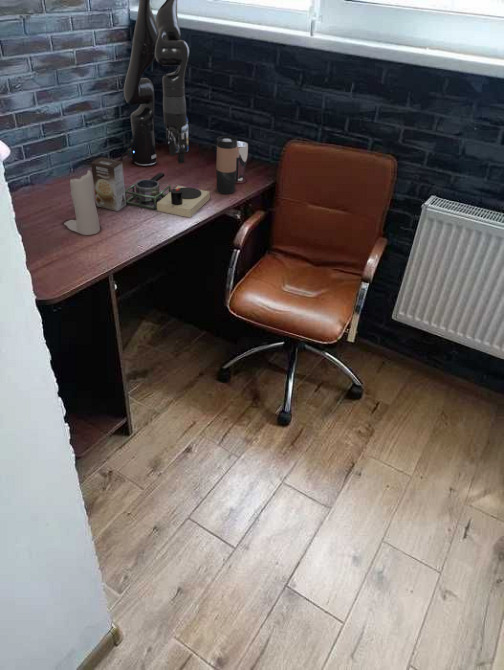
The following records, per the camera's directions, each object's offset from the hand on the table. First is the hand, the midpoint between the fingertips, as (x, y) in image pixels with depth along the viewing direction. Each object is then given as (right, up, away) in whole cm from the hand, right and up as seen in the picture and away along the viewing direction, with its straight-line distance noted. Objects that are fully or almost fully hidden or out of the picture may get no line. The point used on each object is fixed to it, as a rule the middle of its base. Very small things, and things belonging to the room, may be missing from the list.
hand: (176, 159), depth 173 cm
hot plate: (+1, -13, +11) cm, 17 cm away
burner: (+2, -9, +12) cm, 15 cm away
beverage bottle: (-7, +24, +57) cm, 63 cm away
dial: (-1, -14, +5) cm, 15 cm away
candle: (-31, -26, -7) cm, 41 cm away
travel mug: (+16, -4, +24) cm, 29 cm away
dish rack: (-13, -11, +12) cm, 21 cm away
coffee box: (-25, -15, +7) cm, 30 cm away
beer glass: (+21, +3, +33) cm, 39 cm away
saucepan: (-11, -9, +15) cm, 21 cm away
